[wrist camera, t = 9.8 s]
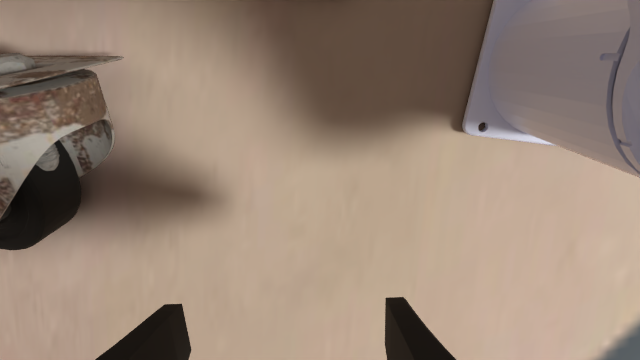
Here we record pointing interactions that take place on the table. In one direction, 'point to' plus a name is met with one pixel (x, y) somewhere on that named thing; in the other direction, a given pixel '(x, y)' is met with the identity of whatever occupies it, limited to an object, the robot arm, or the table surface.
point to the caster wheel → (47, 141)
